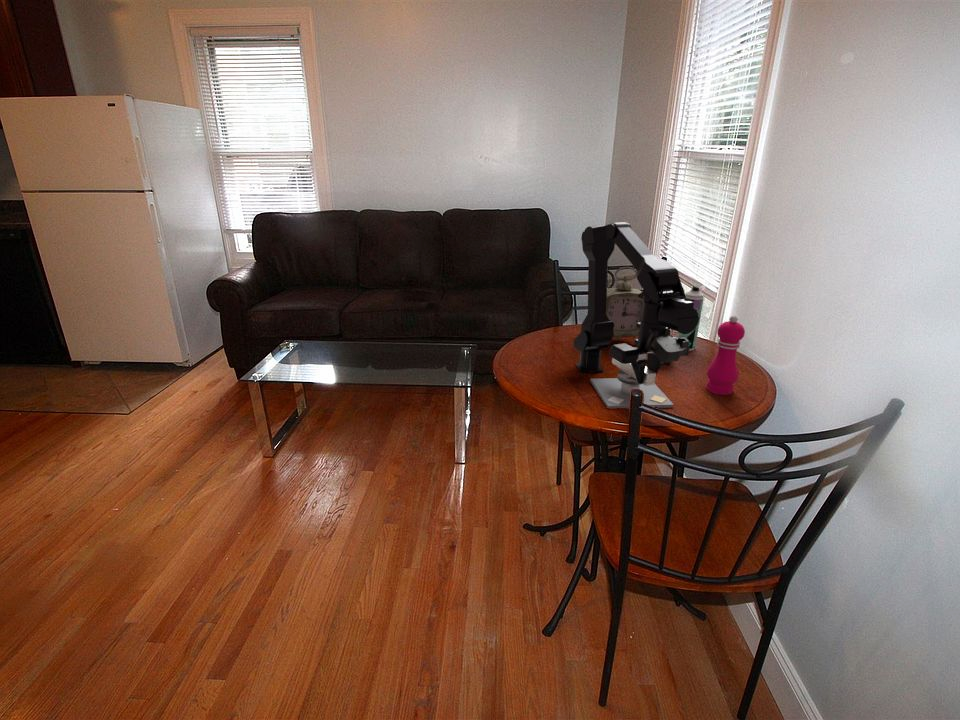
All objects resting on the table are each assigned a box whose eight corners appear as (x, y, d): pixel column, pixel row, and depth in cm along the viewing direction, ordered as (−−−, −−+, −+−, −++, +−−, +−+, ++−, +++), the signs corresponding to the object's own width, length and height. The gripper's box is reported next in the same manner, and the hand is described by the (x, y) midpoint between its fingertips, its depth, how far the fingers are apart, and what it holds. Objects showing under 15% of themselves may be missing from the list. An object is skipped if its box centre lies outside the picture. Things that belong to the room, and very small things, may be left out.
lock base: (590, 381, 131) (591, 368, 129) (648, 380, 131) (650, 367, 130) (607, 409, 116) (609, 394, 114) (673, 407, 117) (675, 393, 115)
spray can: (679, 343, 158) (688, 283, 151) (696, 347, 155) (707, 285, 148) (674, 348, 154) (684, 286, 146) (692, 352, 151) (703, 289, 143)
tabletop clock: (599, 347, 155) (607, 269, 146) (592, 338, 163) (599, 264, 154) (644, 347, 155) (654, 269, 146) (635, 337, 164) (644, 263, 154)
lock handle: (603, 369, 128) (605, 353, 126) (629, 366, 130) (631, 350, 128) (636, 393, 115) (639, 375, 113) (664, 388, 117) (667, 371, 115)
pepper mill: (725, 383, 129) (740, 311, 122) (740, 395, 122) (757, 320, 115) (699, 384, 129) (712, 311, 121) (712, 396, 122) (727, 320, 115)
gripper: (641, 336, 101) (632, 403, 107) (712, 327, 107) (700, 391, 113) (611, 321, 111) (604, 383, 117) (677, 313, 117) (667, 373, 122)
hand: (644, 382), depth 117 cm, fingers closed on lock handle, 2 cm apart
